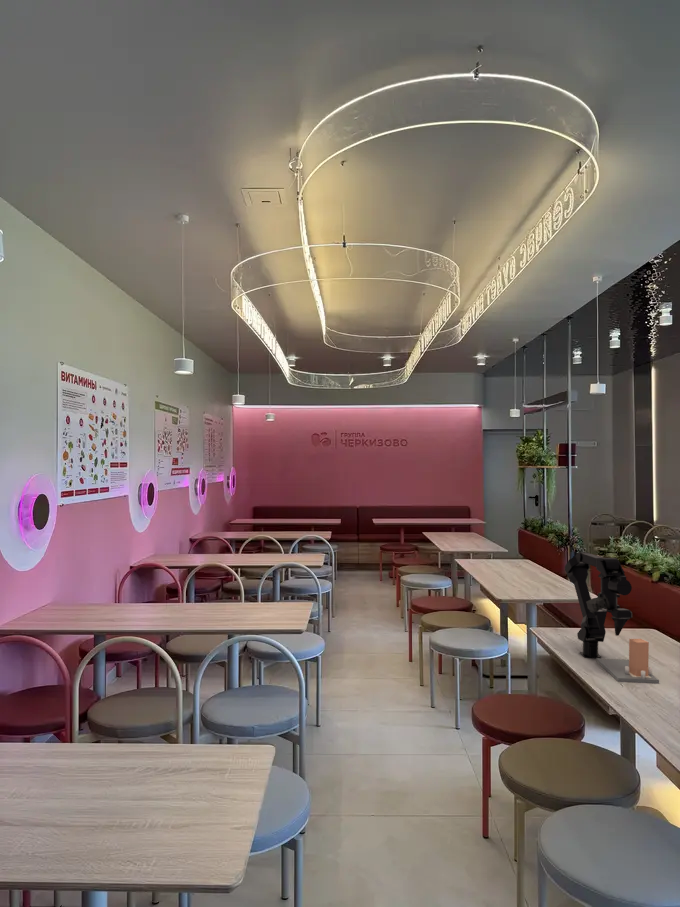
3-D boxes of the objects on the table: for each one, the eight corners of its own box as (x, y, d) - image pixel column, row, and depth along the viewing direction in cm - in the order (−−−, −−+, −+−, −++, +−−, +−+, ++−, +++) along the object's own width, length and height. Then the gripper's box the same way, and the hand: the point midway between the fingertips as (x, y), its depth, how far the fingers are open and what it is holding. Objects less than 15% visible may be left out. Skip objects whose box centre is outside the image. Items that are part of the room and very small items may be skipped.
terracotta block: (628, 672, 219) (629, 638, 220) (640, 671, 220) (640, 638, 220) (636, 676, 215) (637, 642, 215) (648, 676, 216) (648, 642, 216)
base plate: (596, 661, 235) (596, 651, 235) (633, 662, 234) (633, 653, 234) (617, 681, 213) (618, 670, 213) (659, 683, 212) (659, 672, 212)
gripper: (575, 587, 237) (575, 627, 236) (606, 595, 219) (606, 639, 218) (600, 587, 240) (600, 627, 239) (633, 595, 222) (633, 638, 220)
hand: (608, 632), depth 229 cm, fingers open, 9 cm apart
